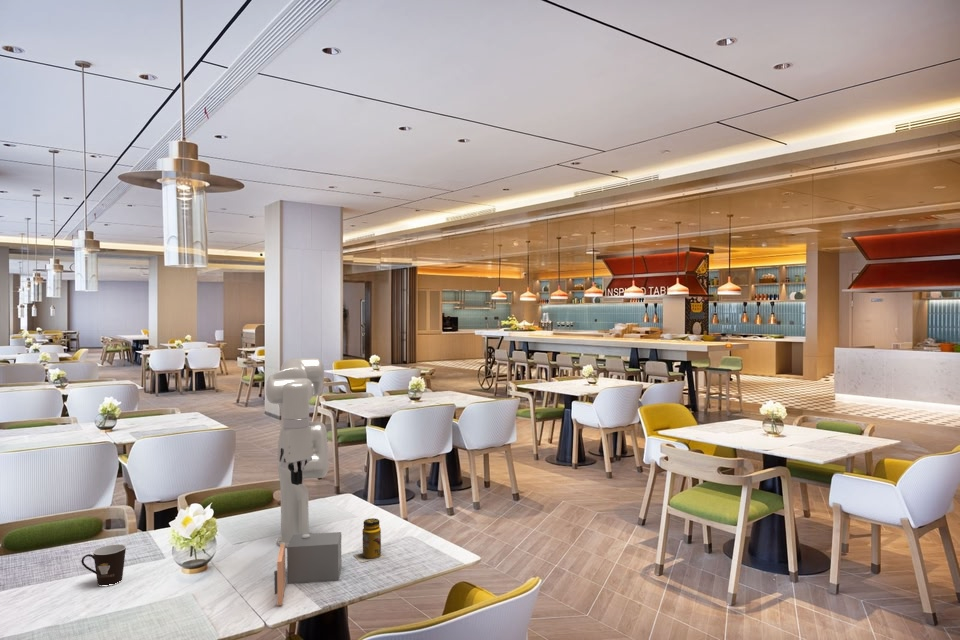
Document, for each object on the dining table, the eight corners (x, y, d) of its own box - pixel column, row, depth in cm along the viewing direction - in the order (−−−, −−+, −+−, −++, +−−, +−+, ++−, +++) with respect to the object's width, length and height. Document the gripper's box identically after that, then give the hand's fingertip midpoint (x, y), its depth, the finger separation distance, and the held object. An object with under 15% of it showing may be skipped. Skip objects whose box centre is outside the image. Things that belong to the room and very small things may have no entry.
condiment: (385, 557, 206) (385, 521, 206) (361, 562, 201) (361, 526, 202) (376, 550, 212) (376, 515, 212) (353, 556, 208) (352, 520, 208)
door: (285, 582, 186) (285, 542, 186) (282, 604, 171) (281, 561, 171) (278, 583, 185) (278, 543, 185) (274, 605, 170) (274, 562, 170)
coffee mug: (132, 578, 191) (132, 546, 191) (107, 589, 183) (107, 556, 183) (104, 573, 195) (104, 542, 195) (79, 584, 187) (78, 551, 187)
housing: (293, 569, 197) (293, 532, 197) (341, 566, 199) (341, 529, 199) (287, 583, 186) (287, 544, 186) (338, 580, 188) (337, 541, 188)
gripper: (308, 418, 194) (308, 476, 195) (267, 425, 182) (267, 487, 183) (324, 420, 190) (324, 480, 190) (282, 429, 178) (283, 492, 178)
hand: (296, 483), depth 186 cm, fingers closed
